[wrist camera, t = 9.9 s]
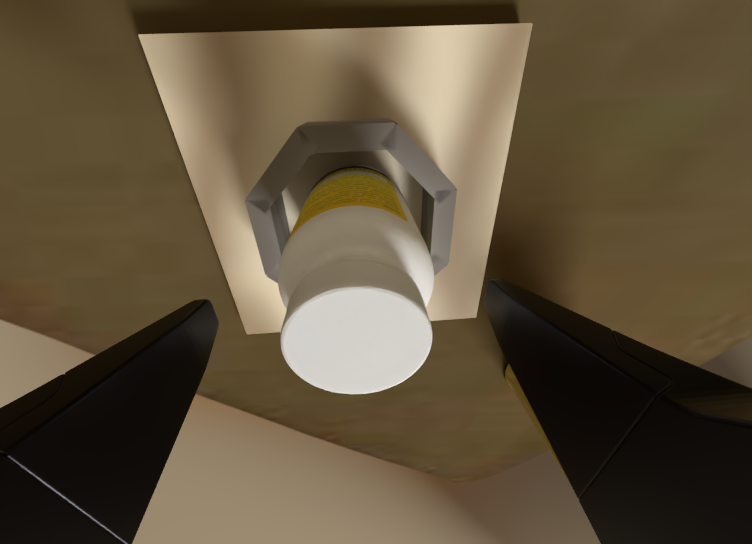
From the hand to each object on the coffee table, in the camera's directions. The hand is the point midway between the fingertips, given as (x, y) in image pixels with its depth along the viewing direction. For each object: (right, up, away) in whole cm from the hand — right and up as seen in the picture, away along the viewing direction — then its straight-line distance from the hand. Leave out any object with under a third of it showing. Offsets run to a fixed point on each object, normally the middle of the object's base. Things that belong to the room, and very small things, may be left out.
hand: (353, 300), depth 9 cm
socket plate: (0, +4, +7) cm, 9 cm away
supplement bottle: (0, +4, +7) cm, 8 cm away
